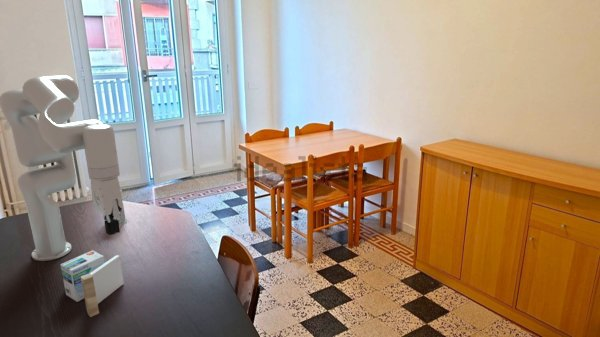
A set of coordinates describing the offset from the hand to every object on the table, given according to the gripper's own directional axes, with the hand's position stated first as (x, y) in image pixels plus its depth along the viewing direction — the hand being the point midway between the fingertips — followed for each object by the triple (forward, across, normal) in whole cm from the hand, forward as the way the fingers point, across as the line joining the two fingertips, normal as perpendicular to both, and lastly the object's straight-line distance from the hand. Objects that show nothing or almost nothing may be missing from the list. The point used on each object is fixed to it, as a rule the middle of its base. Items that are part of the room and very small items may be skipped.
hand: (113, 232), depth 118 cm
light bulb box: (+23, -14, -5) cm, 27 cm away
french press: (+23, -57, +20) cm, 65 cm away
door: (+23, -6, -3) cm, 24 cm away
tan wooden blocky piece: (+23, -10, -8) cm, 26 cm away
